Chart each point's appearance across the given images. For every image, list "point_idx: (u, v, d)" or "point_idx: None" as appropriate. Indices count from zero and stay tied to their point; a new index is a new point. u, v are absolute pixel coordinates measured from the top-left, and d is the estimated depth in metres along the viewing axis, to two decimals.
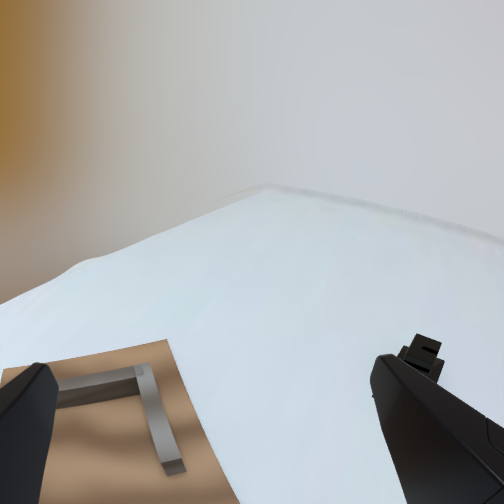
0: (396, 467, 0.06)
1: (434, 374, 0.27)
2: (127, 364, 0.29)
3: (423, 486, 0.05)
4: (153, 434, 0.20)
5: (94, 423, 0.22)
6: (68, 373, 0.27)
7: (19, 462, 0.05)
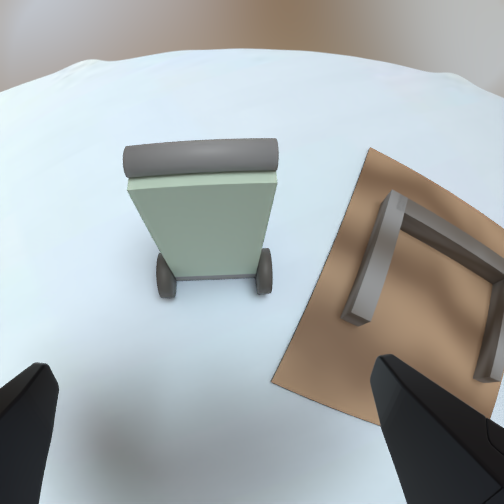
0: (396, 467, 0.06)
1: None
2: (491, 242, 0.25)
3: (423, 486, 0.05)
4: (498, 346, 0.19)
5: (452, 286, 0.23)
6: (444, 208, 0.26)
7: (19, 462, 0.05)
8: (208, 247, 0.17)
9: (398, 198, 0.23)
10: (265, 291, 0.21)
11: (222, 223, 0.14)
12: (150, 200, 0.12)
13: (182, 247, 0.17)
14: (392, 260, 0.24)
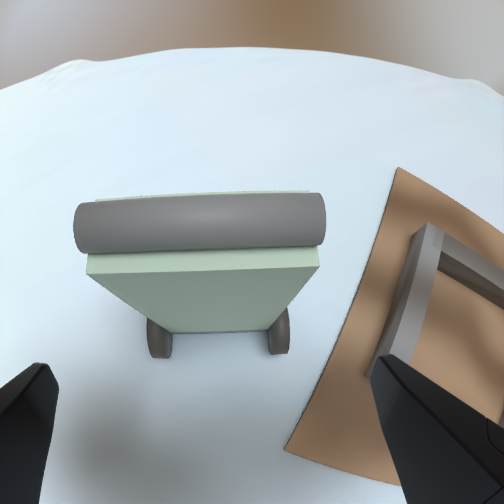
0: (396, 467, 0.06)
1: None
2: None
3: (423, 486, 0.05)
4: None
5: (484, 329, 0.19)
6: (477, 238, 0.22)
7: (19, 462, 0.05)
8: (210, 316, 0.13)
9: (434, 233, 0.19)
10: (280, 353, 0.17)
11: (230, 300, 0.10)
12: (123, 283, 0.08)
13: (177, 316, 0.13)
14: None
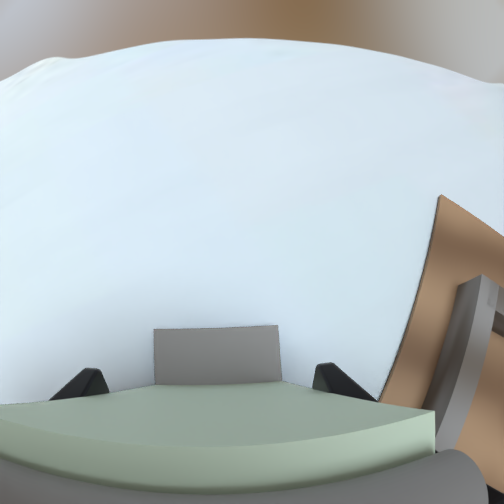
0: None
1: None
2: None
3: None
4: None
5: None
6: None
7: None
8: None
9: (489, 288, 0.14)
10: None
11: None
12: None
13: None
14: None
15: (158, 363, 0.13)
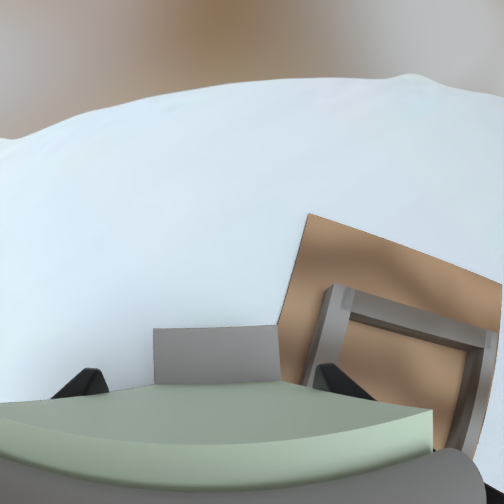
0: None
1: None
2: (466, 300, 0.23)
3: None
4: (468, 430, 0.17)
5: (416, 370, 0.20)
6: (406, 274, 0.23)
7: None
8: None
9: (342, 293, 0.20)
10: None
11: None
12: None
13: None
14: (340, 361, 0.21)
15: (157, 362, 0.13)
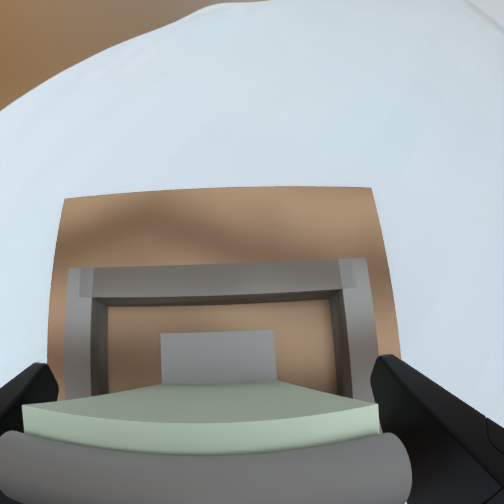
0: None
1: None
2: (306, 226, 0.19)
3: (423, 486, 0.05)
4: None
5: None
6: (192, 224, 0.18)
7: None
8: None
9: (79, 278, 0.14)
10: None
11: None
12: None
13: None
14: (123, 361, 0.15)
15: (164, 364, 0.14)
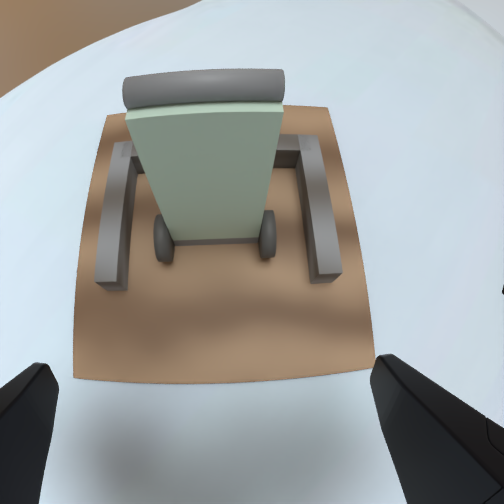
0: (396, 467, 0.06)
1: None
2: None
3: (423, 486, 0.05)
4: (315, 233, 0.20)
5: None
6: None
7: (20, 462, 0.05)
8: (208, 199, 0.16)
9: (122, 147, 0.21)
10: (269, 254, 0.20)
11: (224, 165, 0.13)
12: (148, 133, 0.11)
13: (181, 198, 0.16)
14: (145, 207, 0.22)
15: None
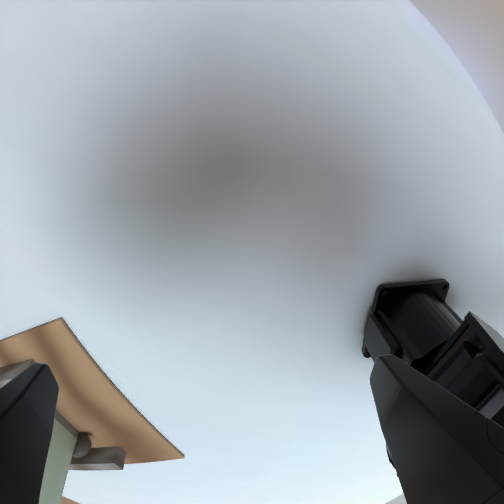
0: (396, 467, 0.06)
1: None
2: None
3: (423, 486, 0.05)
4: None
5: None
6: None
7: (19, 462, 0.05)
8: (47, 464, 0.20)
9: None
10: None
11: None
12: None
13: (56, 472, 0.20)
14: None
15: None
